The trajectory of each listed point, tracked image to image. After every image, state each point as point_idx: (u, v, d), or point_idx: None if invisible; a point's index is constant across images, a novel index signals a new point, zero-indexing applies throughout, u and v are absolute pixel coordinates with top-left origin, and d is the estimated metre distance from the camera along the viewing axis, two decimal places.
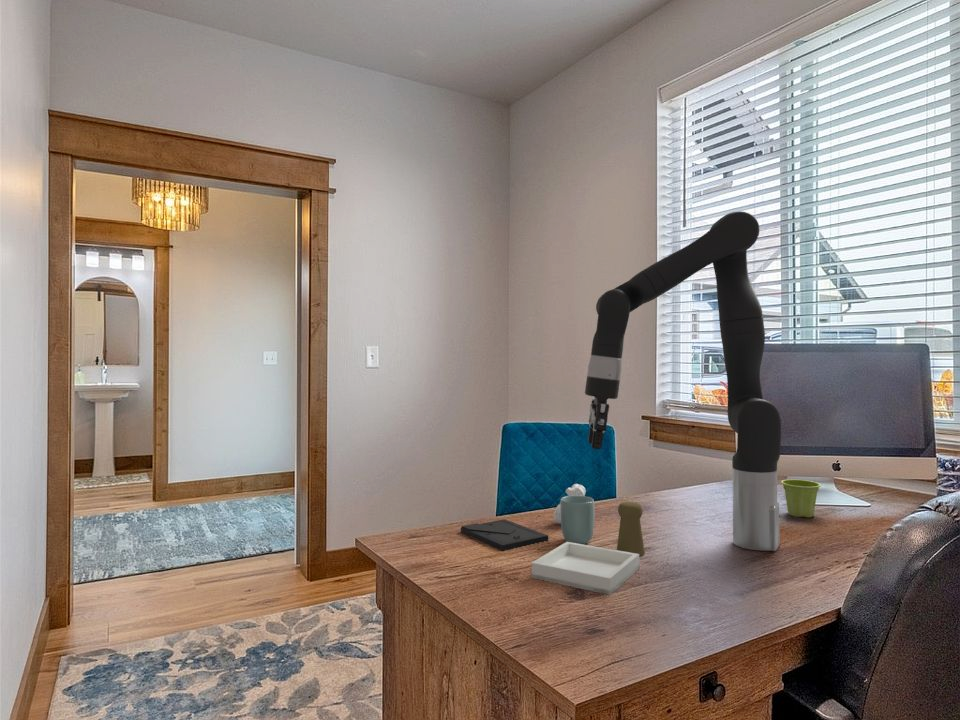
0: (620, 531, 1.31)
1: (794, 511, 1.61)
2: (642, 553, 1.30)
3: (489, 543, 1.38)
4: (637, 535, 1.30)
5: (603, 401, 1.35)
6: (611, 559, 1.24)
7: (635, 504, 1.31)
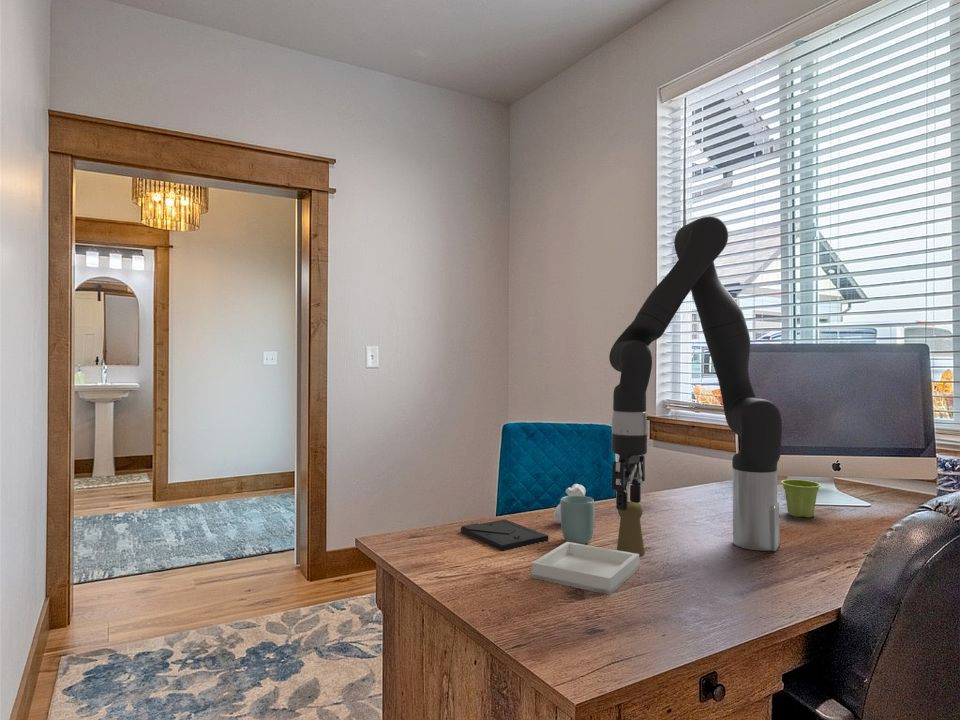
0: (620, 531, 1.31)
1: (794, 511, 1.61)
2: (642, 553, 1.30)
3: (489, 543, 1.38)
4: (637, 535, 1.30)
5: (624, 459, 1.29)
6: (611, 559, 1.24)
7: (635, 504, 1.31)
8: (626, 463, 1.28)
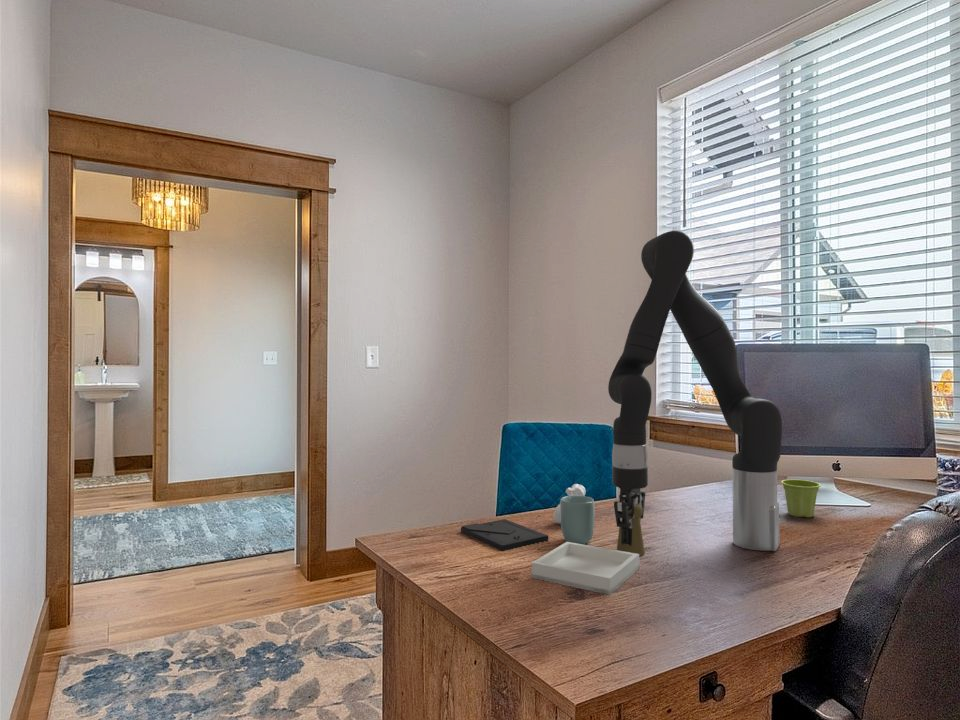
0: (620, 531, 1.31)
1: (794, 511, 1.61)
2: (642, 553, 1.30)
3: (489, 543, 1.38)
4: (637, 535, 1.30)
5: (625, 492, 1.29)
6: (611, 559, 1.24)
7: None
8: (627, 499, 1.28)
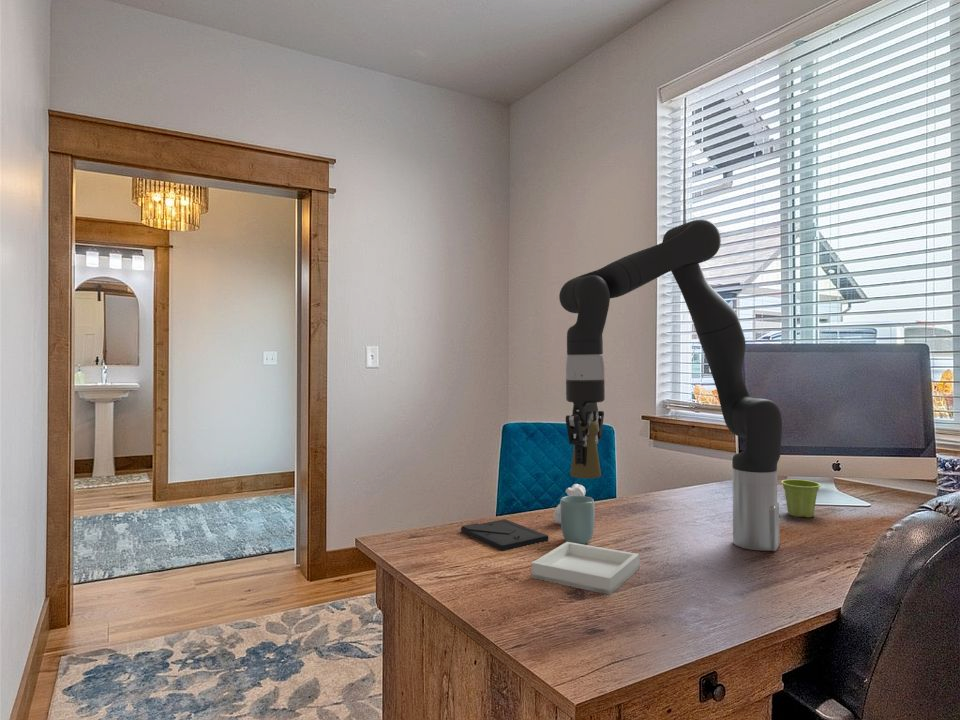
0: (574, 451, 1.19)
1: (794, 511, 1.61)
2: (598, 474, 1.17)
3: (489, 543, 1.38)
4: (592, 454, 1.17)
5: (578, 406, 1.16)
6: (611, 559, 1.24)
7: None
8: (581, 413, 1.16)
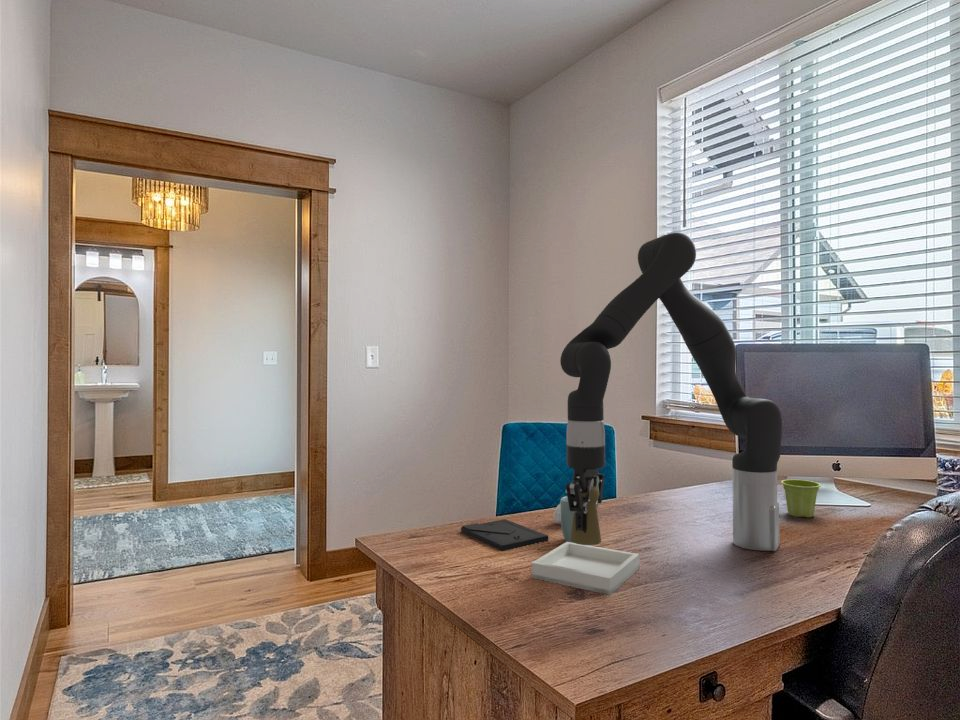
0: (574, 517, 1.19)
1: (794, 511, 1.61)
2: (598, 540, 1.17)
3: (489, 543, 1.38)
4: (592, 520, 1.17)
5: (579, 473, 1.16)
6: (611, 559, 1.24)
7: None
8: (581, 480, 1.16)
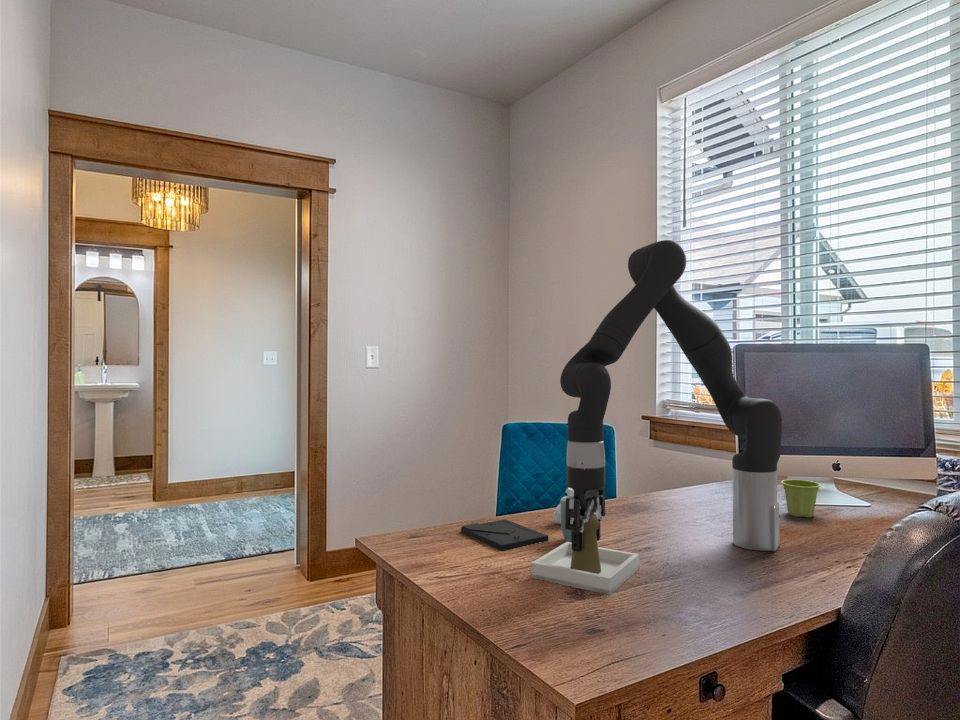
0: None
1: (794, 511, 1.61)
2: (597, 571, 1.17)
3: (489, 543, 1.38)
4: (592, 550, 1.17)
5: (579, 494, 1.16)
6: (611, 559, 1.24)
7: (590, 516, 1.18)
8: (581, 499, 1.16)
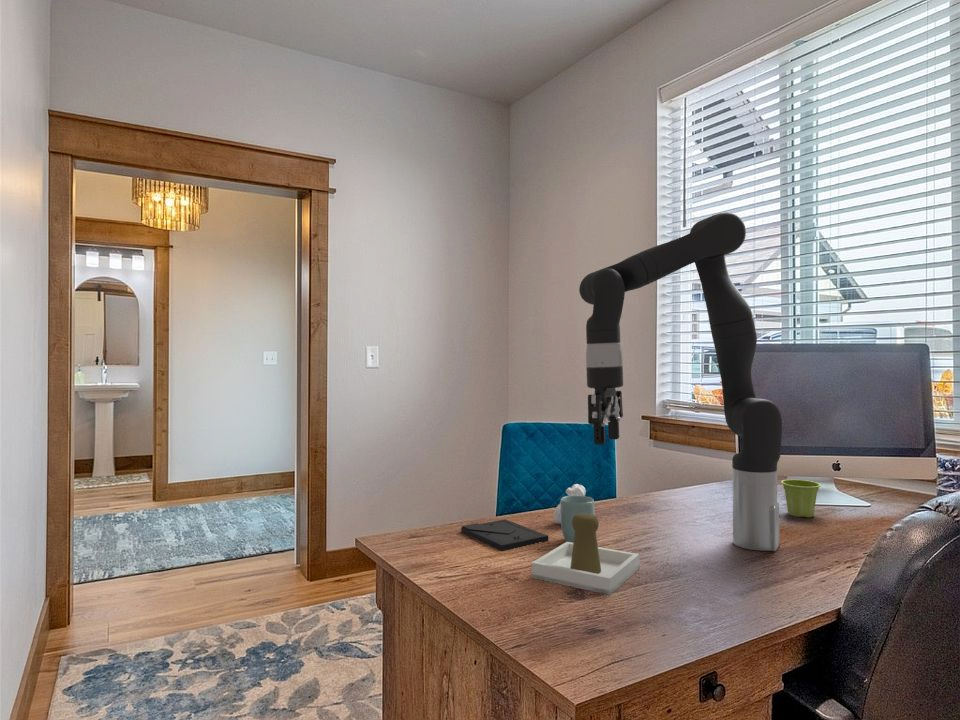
0: (574, 546, 1.18)
1: (794, 511, 1.61)
2: (597, 571, 1.17)
3: (489, 543, 1.38)
4: (592, 550, 1.17)
5: (600, 392, 1.24)
6: (611, 559, 1.24)
7: (590, 516, 1.18)
8: (602, 396, 1.24)
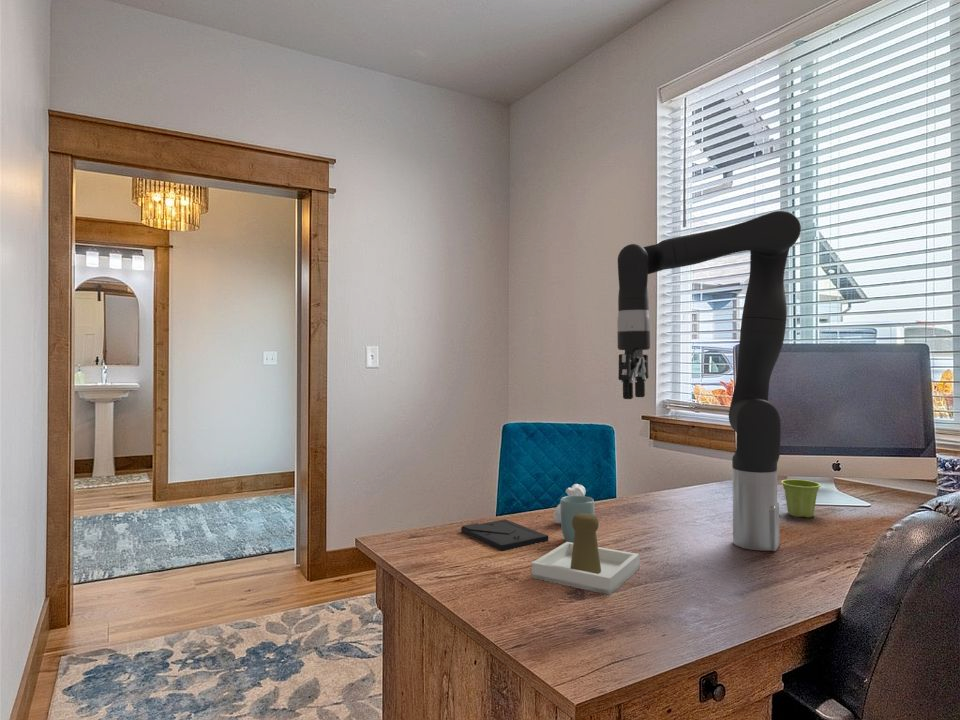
0: (574, 546, 1.18)
1: (794, 511, 1.61)
2: (597, 571, 1.17)
3: (489, 543, 1.38)
4: (592, 550, 1.17)
5: (629, 352, 1.40)
6: (611, 559, 1.24)
7: (590, 516, 1.18)
8: (631, 356, 1.40)
